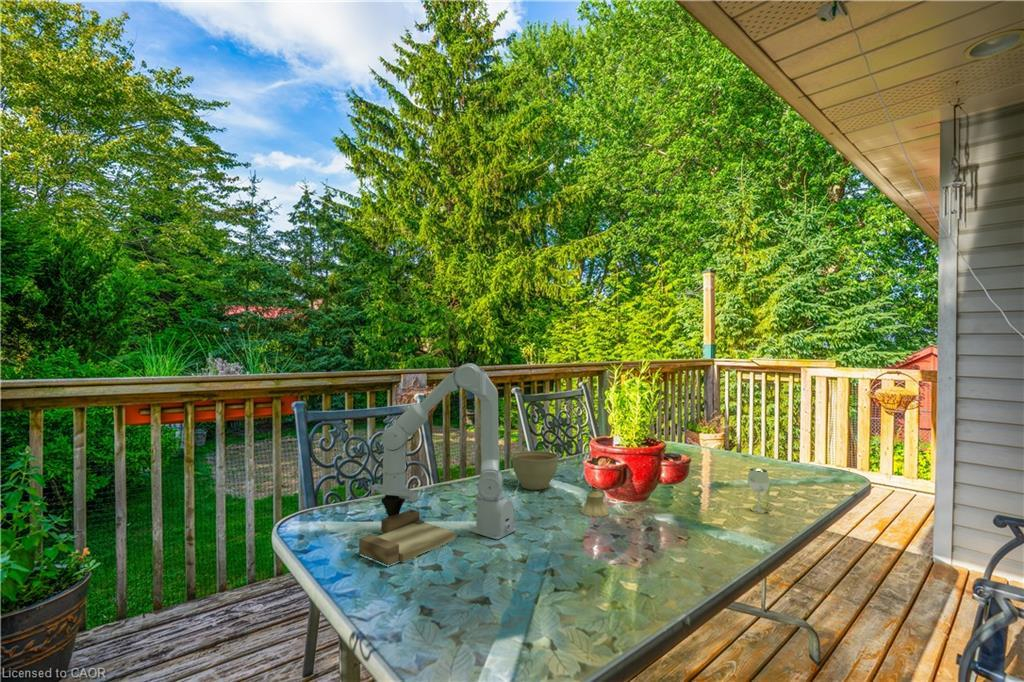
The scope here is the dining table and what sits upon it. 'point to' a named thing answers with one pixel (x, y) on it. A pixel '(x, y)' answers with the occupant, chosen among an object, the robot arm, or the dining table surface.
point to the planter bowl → (534, 468)
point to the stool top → (405, 542)
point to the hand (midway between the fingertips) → (393, 524)
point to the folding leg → (399, 520)
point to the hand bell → (594, 501)
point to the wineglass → (758, 483)
